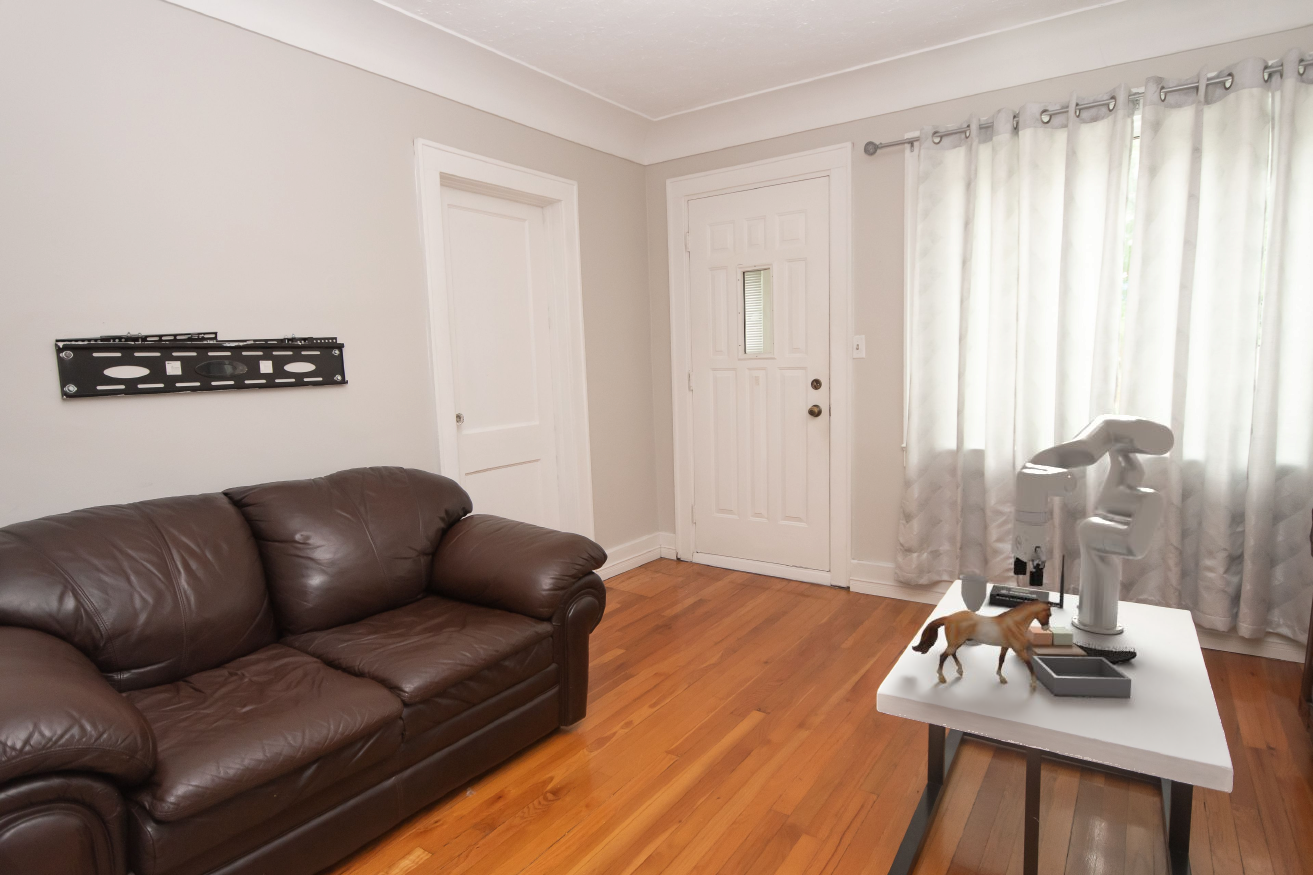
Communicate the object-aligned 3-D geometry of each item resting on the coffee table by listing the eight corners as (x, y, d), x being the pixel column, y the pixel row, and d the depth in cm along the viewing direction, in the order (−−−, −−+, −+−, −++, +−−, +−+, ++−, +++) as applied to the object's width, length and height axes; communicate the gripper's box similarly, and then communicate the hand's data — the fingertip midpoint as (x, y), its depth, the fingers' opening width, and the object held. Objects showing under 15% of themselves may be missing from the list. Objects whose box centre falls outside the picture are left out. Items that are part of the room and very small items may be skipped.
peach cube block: (1025, 637, 183) (1025, 626, 182) (1043, 637, 182) (1044, 626, 182) (1033, 644, 178) (1033, 632, 178) (1051, 644, 178) (1052, 633, 177)
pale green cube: (1045, 637, 182) (1046, 626, 182) (1063, 637, 182) (1064, 626, 181) (1053, 644, 178) (1054, 633, 177) (1072, 644, 177) (1073, 633, 177)
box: (1031, 673, 173) (1032, 655, 172) (1102, 674, 171) (1103, 657, 171) (1054, 696, 161) (1055, 677, 161) (1130, 698, 160) (1131, 679, 159)
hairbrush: (1031, 626, 196) (1139, 644, 180) (1031, 639, 197) (1139, 658, 180) (1023, 635, 190) (1134, 655, 174) (1023, 649, 190) (1134, 670, 174)
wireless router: (988, 607, 220) (990, 553, 218) (993, 594, 232) (995, 543, 230) (1062, 618, 210) (1064, 562, 208) (1063, 604, 222) (1066, 551, 220)
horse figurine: (1049, 682, 168) (1052, 599, 166) (1057, 697, 161) (1060, 610, 158) (911, 667, 177) (912, 588, 175) (912, 681, 170) (914, 598, 168)
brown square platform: (1017, 652, 185) (1017, 634, 184) (1062, 653, 184) (1063, 635, 183) (1037, 672, 173) (1038, 653, 173) (1086, 673, 172) (1087, 654, 172)
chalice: (957, 644, 191) (959, 580, 189) (957, 635, 197) (959, 573, 195) (987, 648, 188) (989, 582, 186) (986, 638, 195) (988, 575, 193)
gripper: (1002, 509, 193) (999, 570, 195) (1030, 524, 176) (1027, 590, 178) (1030, 509, 193) (1028, 570, 195) (1061, 524, 176) (1058, 590, 177)
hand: (1027, 580), depth 186 cm, fingers open, 9 cm apart
